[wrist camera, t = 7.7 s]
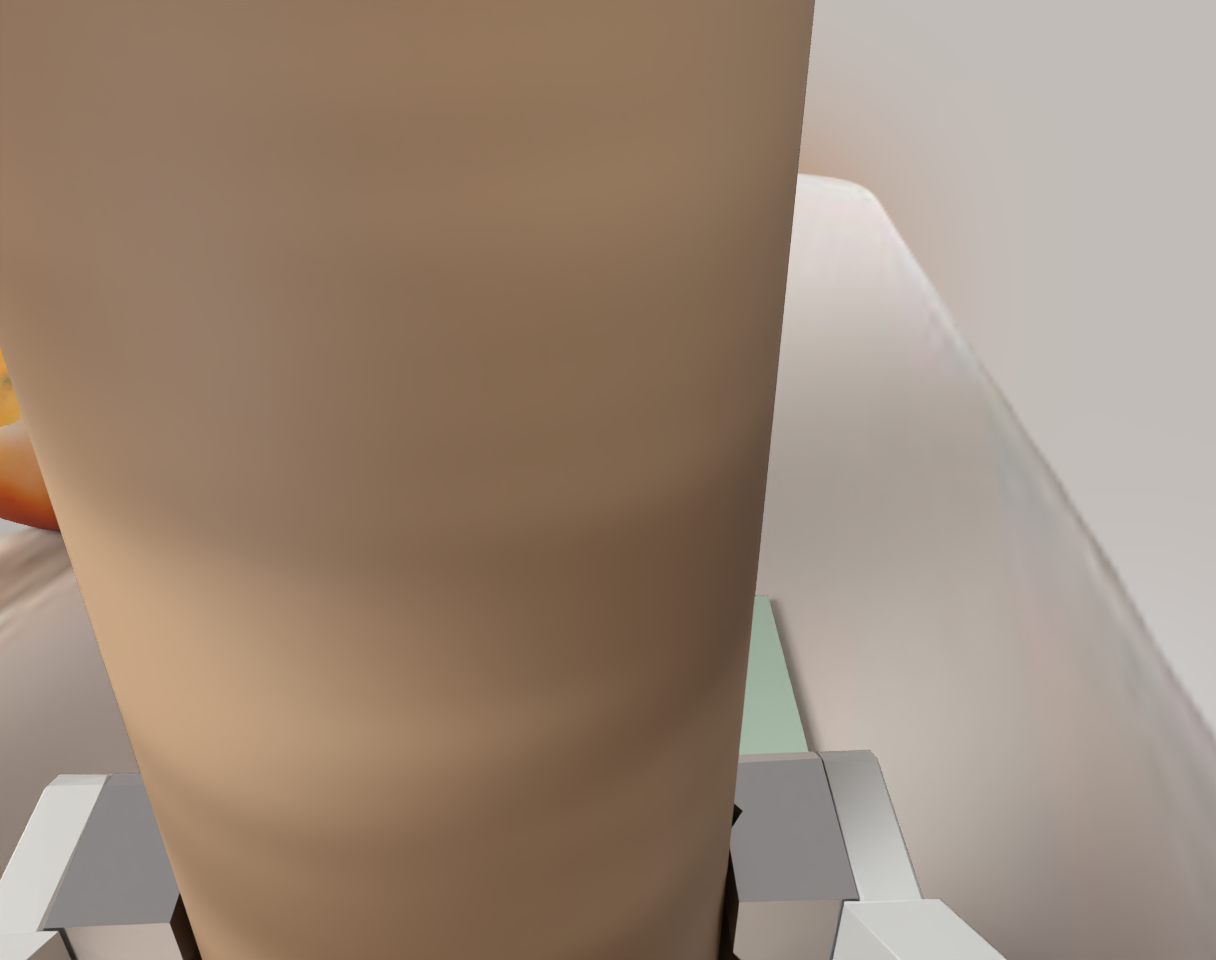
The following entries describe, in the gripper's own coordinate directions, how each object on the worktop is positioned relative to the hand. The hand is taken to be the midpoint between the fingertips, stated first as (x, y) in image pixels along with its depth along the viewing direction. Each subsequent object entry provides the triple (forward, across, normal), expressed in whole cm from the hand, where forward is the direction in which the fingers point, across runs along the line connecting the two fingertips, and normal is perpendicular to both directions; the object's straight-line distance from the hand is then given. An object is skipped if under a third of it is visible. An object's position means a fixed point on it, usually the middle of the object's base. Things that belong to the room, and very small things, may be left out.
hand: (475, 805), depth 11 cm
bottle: (-1, 0, +10) cm, 10 cm away
